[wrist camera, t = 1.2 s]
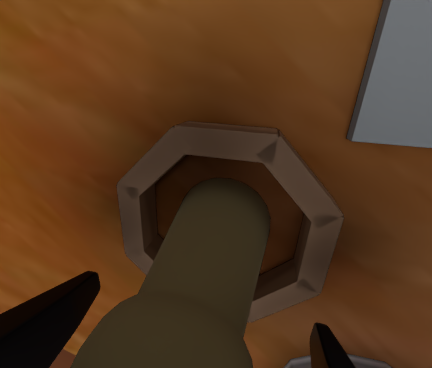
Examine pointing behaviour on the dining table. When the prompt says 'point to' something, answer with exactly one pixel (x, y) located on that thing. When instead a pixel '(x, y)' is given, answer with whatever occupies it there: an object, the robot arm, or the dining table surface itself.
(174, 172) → the dining table surface
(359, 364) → the can
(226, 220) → the cork
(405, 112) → the slate mat
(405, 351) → the dining table surface
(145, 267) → the walnut holder
